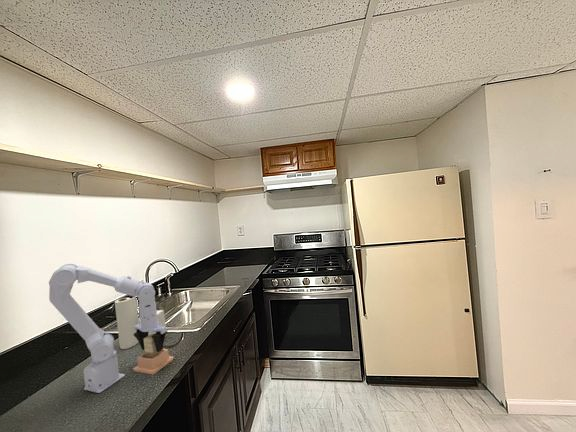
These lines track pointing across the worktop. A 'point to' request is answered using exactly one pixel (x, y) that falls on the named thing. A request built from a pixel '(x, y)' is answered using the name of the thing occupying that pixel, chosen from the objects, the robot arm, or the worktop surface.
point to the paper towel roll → (126, 321)
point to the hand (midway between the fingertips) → (152, 349)
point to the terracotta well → (153, 363)
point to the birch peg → (150, 347)
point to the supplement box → (159, 320)
